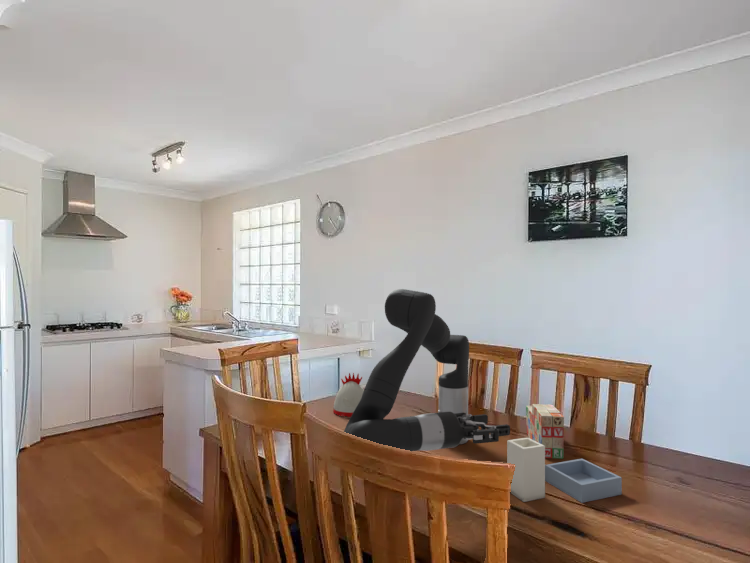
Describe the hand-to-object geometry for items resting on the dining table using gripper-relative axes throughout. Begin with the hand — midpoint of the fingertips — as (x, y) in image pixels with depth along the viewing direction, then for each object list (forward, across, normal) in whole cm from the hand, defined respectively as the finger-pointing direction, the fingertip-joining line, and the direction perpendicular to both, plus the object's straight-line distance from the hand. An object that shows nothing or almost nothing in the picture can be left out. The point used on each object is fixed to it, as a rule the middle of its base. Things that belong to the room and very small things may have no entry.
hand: (497, 424), depth 103 cm
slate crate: (+23, -1, +17) cm, 29 cm away
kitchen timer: (-10, +80, +17) cm, 82 cm away
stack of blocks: (+35, +25, +17) cm, 46 cm away
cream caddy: (+8, 0, +17) cm, 19 cm away
